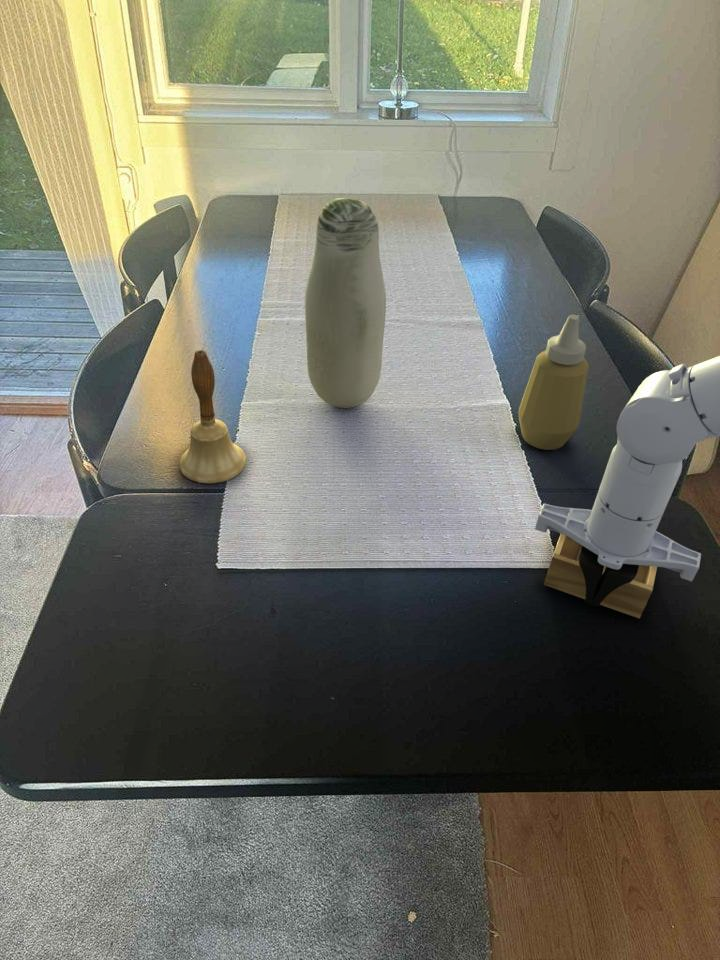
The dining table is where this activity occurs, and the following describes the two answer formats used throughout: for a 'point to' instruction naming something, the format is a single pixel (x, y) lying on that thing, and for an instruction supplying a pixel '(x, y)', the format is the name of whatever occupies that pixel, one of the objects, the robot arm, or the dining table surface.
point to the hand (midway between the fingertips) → (593, 597)
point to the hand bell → (209, 434)
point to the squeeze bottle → (555, 390)
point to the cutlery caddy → (571, 579)
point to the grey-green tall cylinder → (345, 304)
